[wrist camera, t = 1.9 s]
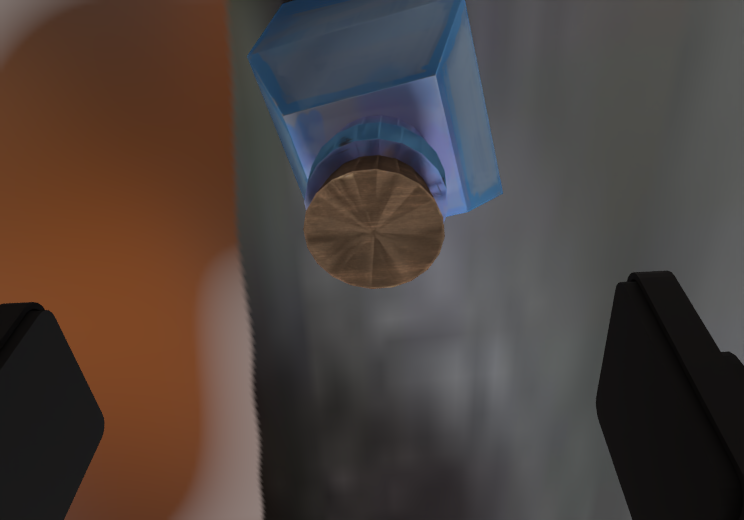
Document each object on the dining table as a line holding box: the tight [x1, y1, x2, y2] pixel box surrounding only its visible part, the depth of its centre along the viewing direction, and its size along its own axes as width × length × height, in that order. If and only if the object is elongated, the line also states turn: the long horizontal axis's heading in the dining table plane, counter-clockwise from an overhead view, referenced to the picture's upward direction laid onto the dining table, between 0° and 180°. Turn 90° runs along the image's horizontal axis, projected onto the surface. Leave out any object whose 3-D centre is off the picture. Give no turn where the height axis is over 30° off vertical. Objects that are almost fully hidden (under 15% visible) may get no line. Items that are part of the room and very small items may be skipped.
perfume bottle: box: [247, 0, 503, 289], centre depth 19 cm, size 6×6×12 cm
